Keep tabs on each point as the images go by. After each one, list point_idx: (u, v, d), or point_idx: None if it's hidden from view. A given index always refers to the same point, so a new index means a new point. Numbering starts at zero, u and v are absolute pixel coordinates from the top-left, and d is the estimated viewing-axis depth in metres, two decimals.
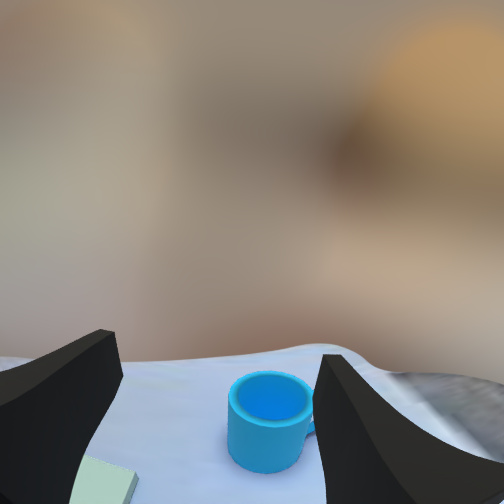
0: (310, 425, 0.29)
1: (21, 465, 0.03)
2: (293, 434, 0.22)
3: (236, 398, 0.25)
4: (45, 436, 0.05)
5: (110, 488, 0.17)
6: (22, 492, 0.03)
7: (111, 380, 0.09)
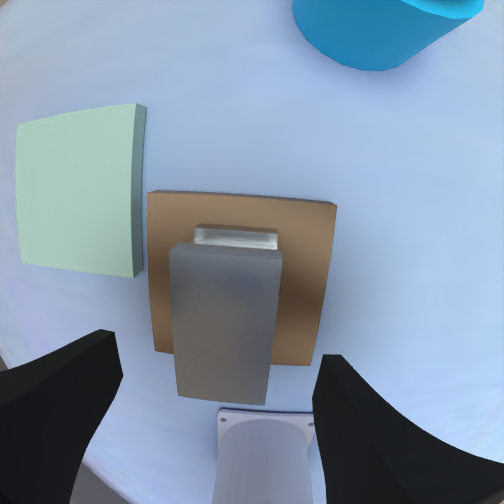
0: None
1: (21, 465, 0.03)
2: (443, 31, 0.07)
3: None
4: (45, 436, 0.05)
5: (106, 157, 0.14)
6: (22, 492, 0.03)
7: (111, 380, 0.09)
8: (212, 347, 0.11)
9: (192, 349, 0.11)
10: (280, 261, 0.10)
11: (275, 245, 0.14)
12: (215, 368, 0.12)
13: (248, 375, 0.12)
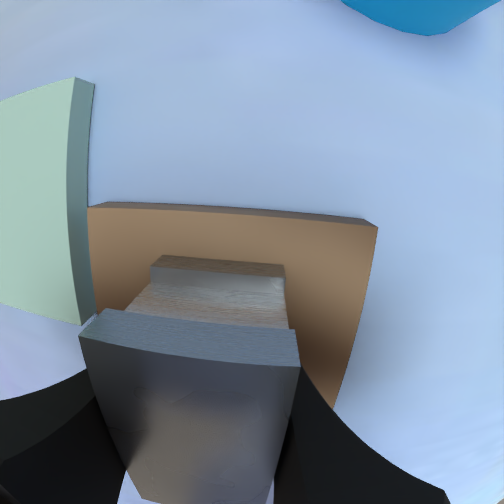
0: None
1: (72, 493, 0.03)
2: None
3: None
4: (94, 457, 0.05)
5: (37, 158, 0.09)
6: None
7: None
8: (178, 468, 0.06)
9: (148, 465, 0.06)
10: (296, 370, 0.04)
11: (281, 297, 0.08)
12: (187, 486, 0.06)
13: (237, 496, 0.06)
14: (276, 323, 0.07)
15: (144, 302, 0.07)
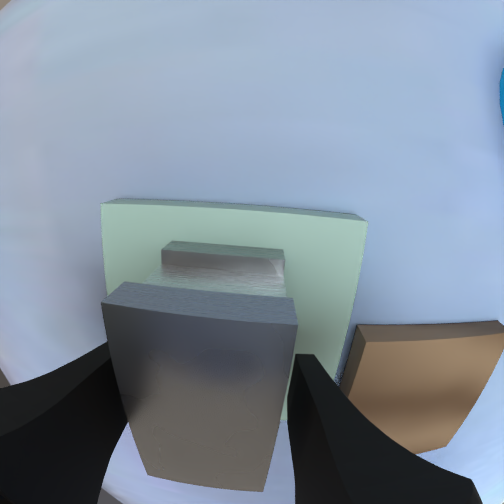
0: None
1: (50, 482, 0.03)
2: None
3: None
4: (73, 449, 0.05)
5: (313, 297, 0.11)
6: None
7: None
8: (185, 436, 0.07)
9: (157, 435, 0.07)
10: (294, 328, 0.05)
11: (281, 277, 0.09)
12: (192, 457, 0.07)
13: (240, 466, 0.07)
14: (276, 297, 0.08)
15: (157, 280, 0.08)
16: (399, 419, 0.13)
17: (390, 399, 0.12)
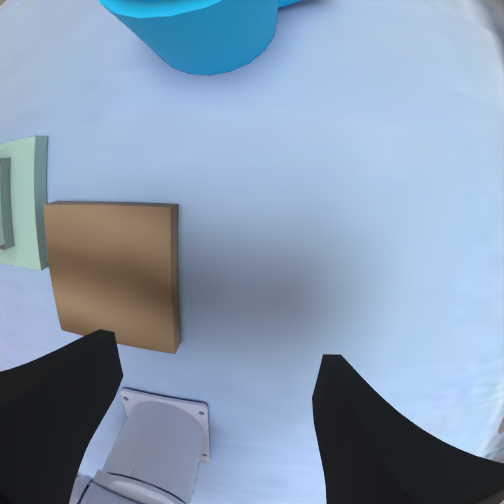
0: None
1: (21, 465, 0.03)
2: (227, 19, 0.09)
3: None
4: (45, 436, 0.05)
5: (20, 179, 0.16)
6: (22, 492, 0.03)
7: (111, 380, 0.09)
8: None
9: None
10: None
11: None
12: None
13: None
14: None
15: None
16: (89, 284, 0.18)
17: (71, 257, 0.17)
